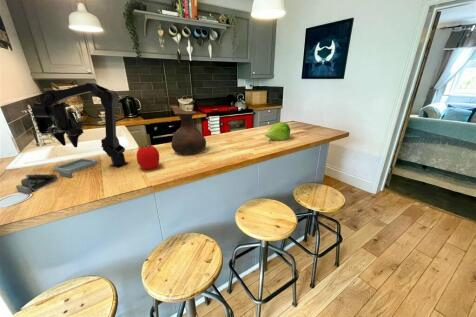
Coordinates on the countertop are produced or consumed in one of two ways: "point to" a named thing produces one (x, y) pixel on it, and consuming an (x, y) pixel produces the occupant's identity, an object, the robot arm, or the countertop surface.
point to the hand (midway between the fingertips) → (70, 146)
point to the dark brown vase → (187, 134)
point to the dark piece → (38, 181)
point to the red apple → (148, 157)
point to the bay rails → (27, 190)
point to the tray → (75, 165)
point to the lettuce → (278, 131)
